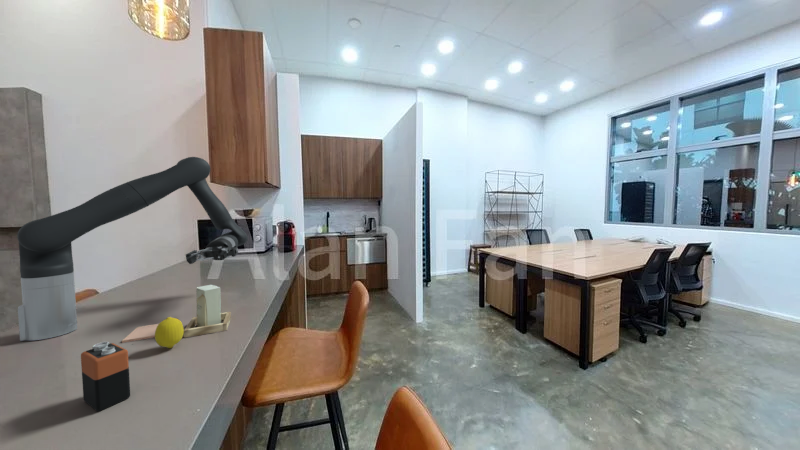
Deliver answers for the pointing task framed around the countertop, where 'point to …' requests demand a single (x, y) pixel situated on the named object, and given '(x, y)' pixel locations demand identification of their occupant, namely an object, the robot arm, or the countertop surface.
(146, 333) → the terracotta tile
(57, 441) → the countertop surface
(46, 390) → the countertop surface
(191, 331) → the square wooden frame
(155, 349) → the countertop surface
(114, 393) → the battery
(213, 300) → the skincare box
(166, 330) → the lemon
